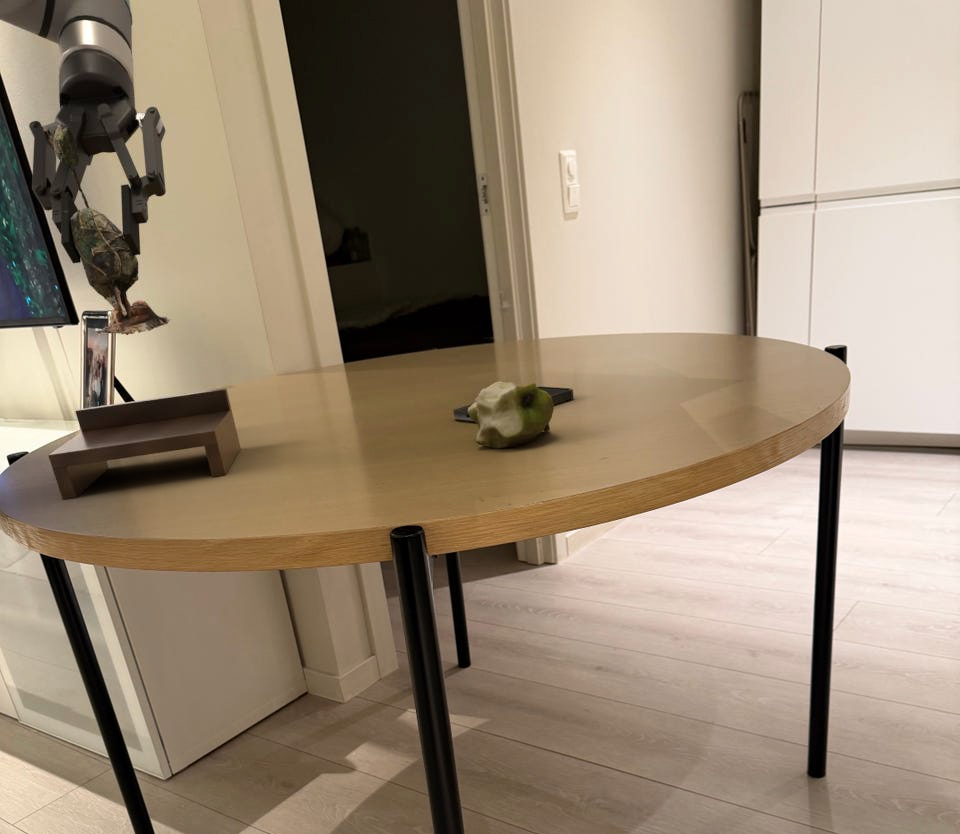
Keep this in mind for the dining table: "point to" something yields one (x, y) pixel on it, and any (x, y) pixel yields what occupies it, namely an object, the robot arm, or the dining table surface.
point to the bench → (146, 435)
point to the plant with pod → (105, 255)
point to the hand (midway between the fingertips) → (101, 248)
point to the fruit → (511, 414)
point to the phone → (555, 393)
